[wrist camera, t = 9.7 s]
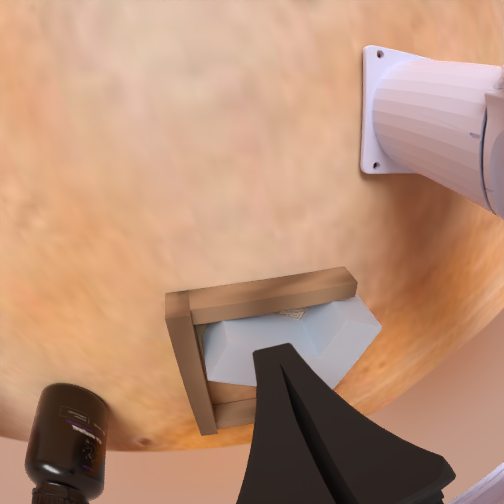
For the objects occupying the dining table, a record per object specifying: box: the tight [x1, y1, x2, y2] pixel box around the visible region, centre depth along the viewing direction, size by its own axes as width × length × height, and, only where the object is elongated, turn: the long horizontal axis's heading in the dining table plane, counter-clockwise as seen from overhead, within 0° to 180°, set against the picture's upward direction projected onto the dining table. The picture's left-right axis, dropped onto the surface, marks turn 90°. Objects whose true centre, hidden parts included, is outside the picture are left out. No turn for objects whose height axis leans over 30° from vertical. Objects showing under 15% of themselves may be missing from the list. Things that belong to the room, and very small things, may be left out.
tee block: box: [202, 294, 382, 390], centre depth 22 cm, size 10×10×4 cm
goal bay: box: [165, 267, 358, 436], centre depth 23 cm, size 12×14×2 cm
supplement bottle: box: [25, 383, 108, 504], centre depth 18 cm, size 7×7×12 cm
